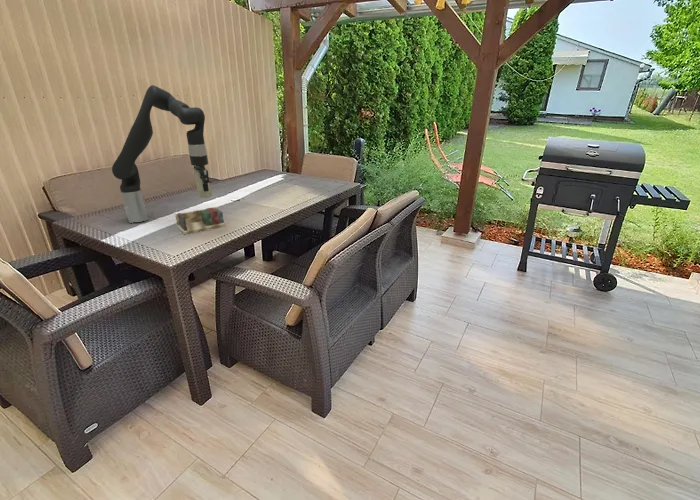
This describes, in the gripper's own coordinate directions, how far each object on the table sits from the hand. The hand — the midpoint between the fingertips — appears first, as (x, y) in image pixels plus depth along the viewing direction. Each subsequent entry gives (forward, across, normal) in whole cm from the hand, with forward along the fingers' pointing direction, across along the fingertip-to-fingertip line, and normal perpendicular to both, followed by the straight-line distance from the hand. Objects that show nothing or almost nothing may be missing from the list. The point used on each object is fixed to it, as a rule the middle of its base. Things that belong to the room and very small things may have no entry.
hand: (204, 189), depth 167 cm
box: (+4, 0, 0) cm, 4 cm away
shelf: (+23, -13, -1) cm, 26 cm away
